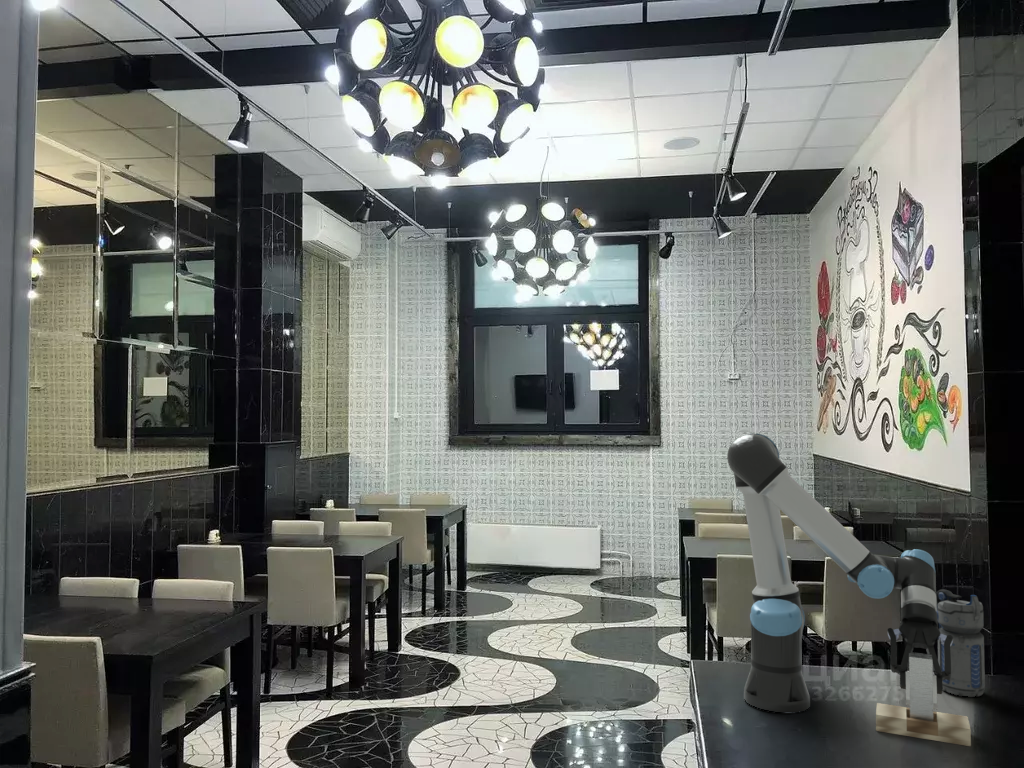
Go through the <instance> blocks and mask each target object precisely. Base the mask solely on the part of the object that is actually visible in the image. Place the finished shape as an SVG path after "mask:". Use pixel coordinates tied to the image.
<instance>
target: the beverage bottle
mask: <svg viewBox="0 0 1024 768" xmlns="http://www.w3.org/2000/svg"><path fill="white" fill-rule="evenodd" d="M969 596H970V601H967V600H960V599H961V598H963V596H962V595H957V594H953V593H952V591H951V590H947V589H944V588H943V589H942V588H941V589H939V590H937V591H936V600H937V622H938V629H939V631H940V633H941V634H943V635H946V636H947V635H952V636H953V644H952V646H951V648H950V652H951V679H950V680H943V681H942V684H943V692H944V691H945V692H946V693H947V694H950V693H951V694H950V695H953V694H954V696H957V695H959V696H958V697H962V696H968V697H967V698H975V696H976V697H980V696H982V695H983V694H984V693H985V691H986V680H985V679H986V678H985V677H986V675H985V674H986V672H985V636H984V634H983V633H982V632H981V630H982V629H983V628H984V627H985V626H984V606H983V603H982V602H981V601H979V597H978V596H977V595H975V594H971V595H969ZM958 599H959V600H958ZM937 659H938V662H939V666H940V669H941V671H945V669H944V646H943V645H942V644H941V640H940V639H939V640H938V641H937Z"/></svg>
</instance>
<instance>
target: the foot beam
mask: <svg viewBox="0 0 1024 768" xmlns="http://www.w3.org/2000/svg"><path fill="white" fill-rule="evenodd" d="M875 730H876V731H875V732H882V733H888V734H893V735H900V736H905V737H906V736H907V737H912V738H918V739H923V740H932V741H937V742H940V743H941V742H942V743H943V742H944V743H949V744H955V745H961V746H967V747H972V737H971V736H972V735H971V733H972V730H971V725H970V721H969V717H968V716H966V715H960V714H954V713H949V712H948V713H947V712H940V711H939V712H938V711H934V710H933V721H927V720H920V719H914V718H910V707H908V706H907V707H906V706H900V705H894V704H887V703H880V702H876V710H875Z"/></svg>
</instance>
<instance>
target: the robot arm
mask: <svg viewBox="0 0 1024 768" xmlns="http://www.w3.org/2000/svg"><path fill="white" fill-rule="evenodd" d="M727 449H728V450H727V454H726V455H727V456H726V459H727V464H728V467H729V468H730V470H731V471H732V472H733V477H734V483H735V484H734V485H735V489H737V490H738V491H739V492H741V494H742V495H743V496H742V497H743V503H744V510H745V515H746V516H745V517H746V523H747V529H748V536H749V541H750V549H751V554H752V555H751V556H752V563H753V568H754V575H755V581H756V586H755V587H754V588H753V590H751V595H752V602H753V604H752V606H751V608H750V613H749V619H750V670H749V674H748V676H747V678H746V682H745V684H744V687H743V700H744V699H745V700H746V701H747V702H748V703H749V704H751V705H753V706H756V707H758V708H761V709H765V710H769V711H775V712H799V711H804V710H806V709H808V708H809V707H811V695H810V694H809V690H808V687H807V684H806V681H805V678H804V675H803V665H802V664H803V663H802V662H803V661H802V660H803V657H802V656H803V655H802V654H803V652H802V650H803V649H802V648H803V647H802V645H803V644H802V643H803V640H802V638H803V630H804V628H805V622H806V618H805V617H806V615H805V610H804V609H803V606H802V602H801V596H800V590H799V589H800V588H799V587H797V586H796V585H795V584H794V583H793V582H792V579H791V572H790V565H789V559H788V552H787V547H786V541H785V536H784V534H785V533H784V526H783V521H782V516H781V512H782V513H783V514H784V515H786V517H788V519H790V521H792V522H793V523H794V524H795V525H796V526H797V527H798V528H799V529H800V530H801V531H802V532H803V533H804V534H805V535H806V536H807V537H808V538H809V539H810V540H811V541H812V542H814V544H815V545H817V546H818V547H819V548H820V550H822V551H823V552H824V554H826V555H827V556H828V557H829V558H830V559H831V560H832V561H833V562H834V563H836V565H838V567H839V568H840V569H842V570H843V571H844V572H845V573H846V574H847V580H848V581H849V582H851V583H855V584H856V585H857V586H858V588H859V589H860V591H861V592H862V593H863V594H864V595H865V596H867V597H869V598H871V599H876V600H877V599H879V600H880V599H884V598H886V597H888V596H889V595H890V594H891V593H892V591H894V590H893V589H899V590H900V608H901V609H900V620H901V621H900V625H899V627H898V628H896V629H893V628H892V627H888V628H887V638H888V639H889V642H890V671H891V673H894V674H895V673H896V674H898V675H899V686H900V689H903V690H905V705H906V706H907V707H908V706H909V707H910V680H909V671H908V670H909V652H913V651H914V648H916V649H917V648H921V649H923V650H926V654H930V655H932V661H933V711H934V710H936V711H937V710H938V695H942V694H943V693H944V690H943V684H942V681H943V680H950V679H951V652H950V648H951V646H952V644H953V636H952V635H947V636H946V635H943V634H941V633H940V631H939V623H938V620H937V600H936V592H937V587H936V586H937V584H936V583H937V581H936V580H937V579H936V576H937V575H936V571H937V570H936V567H935V561H934V557H933V556H932V555H931V554H930V553H929V552H927V551H925V550H923V549H917V548H916V549H915V548H914V549H912V550H911V549H907V550H904V551H903V552H902V553H901V555H900V557H899V556H898V557H897V556H887V555H880V554H875V553H874V554H873V553H872V552H871V551H870V550H869V549H867V548H866V546H865V545H864V544H863V543H862V542H860V541H859V539H857V538H856V537H855V535H853V534H852V533H851V532H850V531H849V530H848V529H847V528H846V527H844V526H843V524H842V523H840V521H838V520H837V519H836V518H835V517H834V516H833V515H832V514H831V513H830V512H829V511H828V510H827V509H826V508H825V507H824V506H823V505H822V504H820V503H819V501H817V500H816V499H815V498H814V497H813V496H812V495H811V494H810V493H809V492H808V491H807V490H806V489H804V487H803V486H802V485H801V484H799V482H797V480H795V479H794V478H793V477H792V476H791V475H790V474H789V468H788V466H787V465H785V464H784V463H783V462H782V461H781V459H780V453H779V448H778V447H777V445H776V444H775V442H774V441H773V440H772V439H771V438H770V437H768V436H766V435H764V434H761V433H748V434H743V435H740V436H737V438H736V439H734V441H732V443H731V444H730V446H729V447H728V448H727ZM899 636H901V637H902V639H904V641H905V642H906V644H905V649H904V652H903V656H902V659H901V662H900V665H899V664H898V660H897V658H898V656H897V640H898V639H899ZM939 639H940V640H941V644H942V645H943V646H944V669H945V671H941V669H940V666H939V662H938V655H937V654H936V651H935V647H934V645H935V644H936V643H938V640H939ZM913 653H914V652H913ZM745 700H744V701H745ZM749 704H748V705H749ZM751 705H750V706H751ZM753 706H752V707H753ZM758 708H757V709H758ZM761 709H760V710H761ZM809 709H810V708H809ZM809 709H808V710H809ZM769 711H768V712H769ZM806 711H807V710H806ZM775 712H774V713H775ZM804 712H805V711H804ZM799 713H800V712H799Z"/></svg>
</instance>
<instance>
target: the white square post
mask: <svg viewBox="0 0 1024 768" xmlns="http://www.w3.org/2000/svg"><path fill="white" fill-rule="evenodd" d="M908 670H909V671H908V672H909V680H910V706H909V708H910V718H914V719H920V720H927V721H933V711H934V709H933V675H934V672H933V661H932V655H930V654H927V653H920V652H909V666H908Z"/></svg>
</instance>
